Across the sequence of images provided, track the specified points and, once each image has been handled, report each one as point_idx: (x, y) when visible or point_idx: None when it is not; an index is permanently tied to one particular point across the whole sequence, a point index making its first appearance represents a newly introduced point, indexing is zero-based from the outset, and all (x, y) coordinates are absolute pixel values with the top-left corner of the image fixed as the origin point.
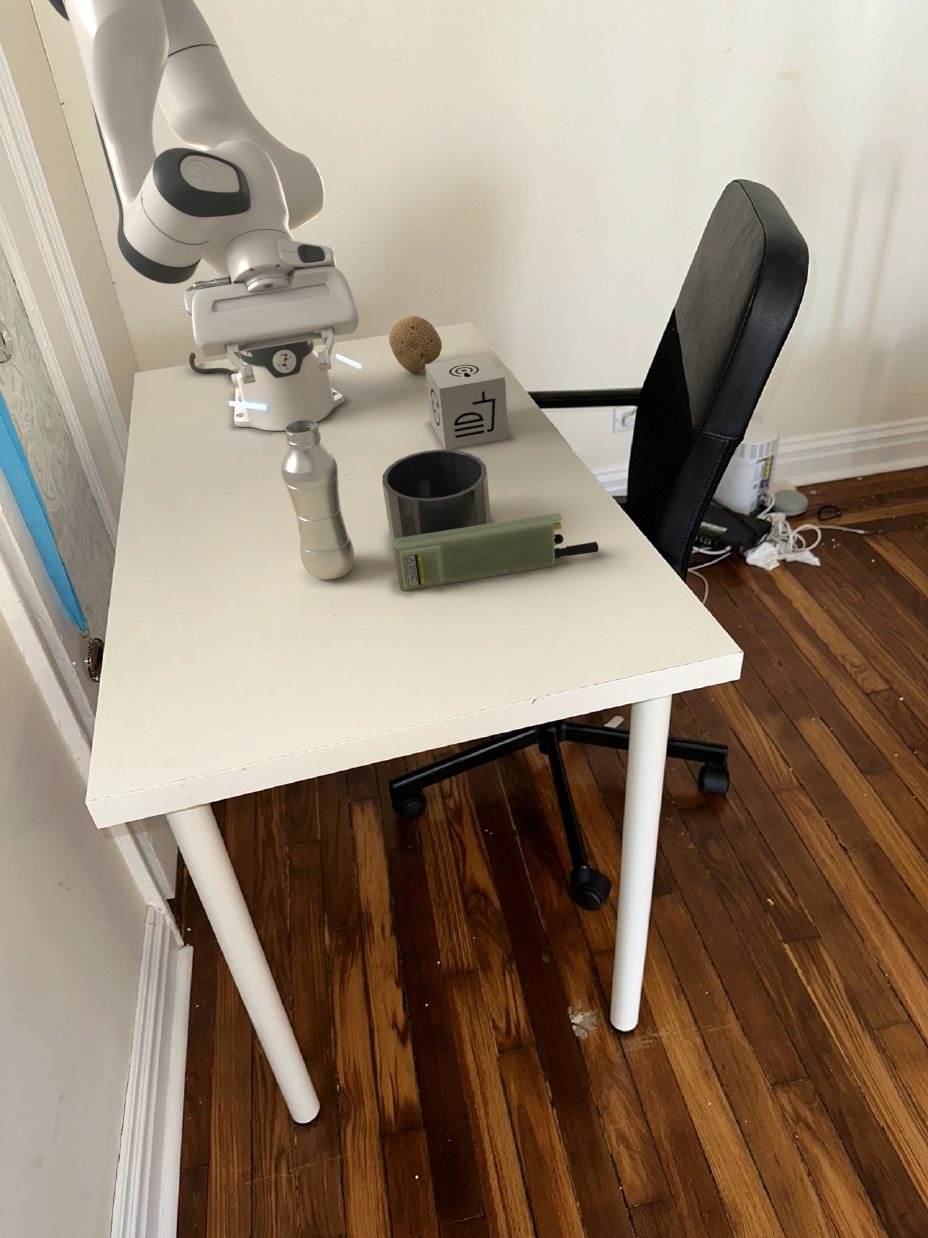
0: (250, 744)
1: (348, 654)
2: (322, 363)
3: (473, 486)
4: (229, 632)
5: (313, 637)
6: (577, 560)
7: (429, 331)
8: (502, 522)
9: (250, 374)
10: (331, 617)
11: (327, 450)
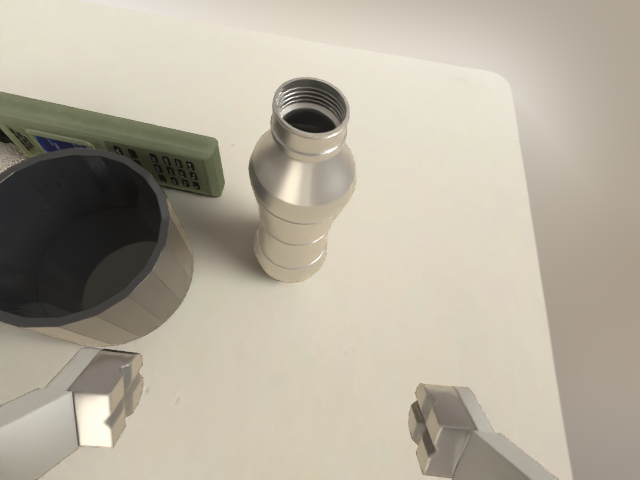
0: (405, 70)
1: None
2: (121, 351)
3: (36, 159)
4: (417, 200)
5: None
6: None
7: None
8: (55, 118)
9: (437, 389)
10: None
11: (262, 144)
